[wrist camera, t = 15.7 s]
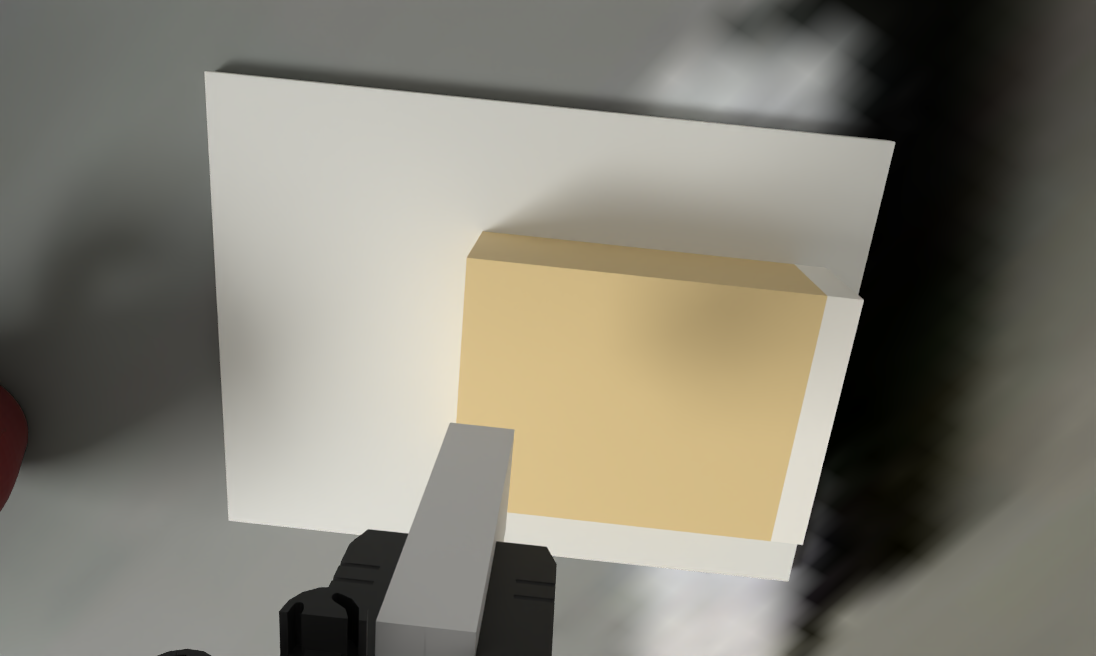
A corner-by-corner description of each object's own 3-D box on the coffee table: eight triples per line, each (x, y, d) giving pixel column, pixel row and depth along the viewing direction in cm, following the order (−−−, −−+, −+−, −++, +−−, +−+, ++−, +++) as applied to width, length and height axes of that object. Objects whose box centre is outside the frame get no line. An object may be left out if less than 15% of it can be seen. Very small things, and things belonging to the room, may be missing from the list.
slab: (450, 506, 23) (802, 544, 23) (466, 257, 21) (864, 299, 21) (467, 452, 27) (775, 485, 27) (482, 231, 24) (825, 267, 24)
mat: (235, 511, 29) (228, 520, 28) (213, 71, 23) (204, 71, 23) (784, 570, 29) (788, 581, 28) (887, 140, 23) (895, 142, 23)
